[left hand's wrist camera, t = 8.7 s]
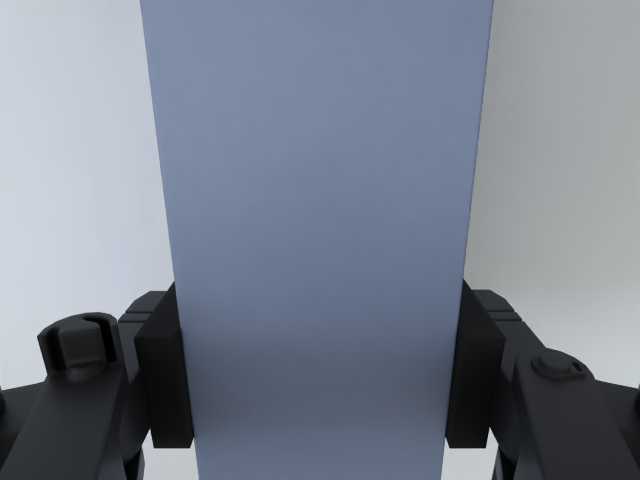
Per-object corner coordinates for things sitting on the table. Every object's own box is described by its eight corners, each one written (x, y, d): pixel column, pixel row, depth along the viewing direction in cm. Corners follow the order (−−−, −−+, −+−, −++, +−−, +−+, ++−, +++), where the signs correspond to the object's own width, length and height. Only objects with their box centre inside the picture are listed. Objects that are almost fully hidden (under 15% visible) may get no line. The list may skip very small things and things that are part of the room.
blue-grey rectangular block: (239, -104, 15) (71, -533, 5) (395, -105, 15) (556, -535, 5) (261, 313, 20) (203, 529, 10) (377, 312, 20) (437, 528, 10)
